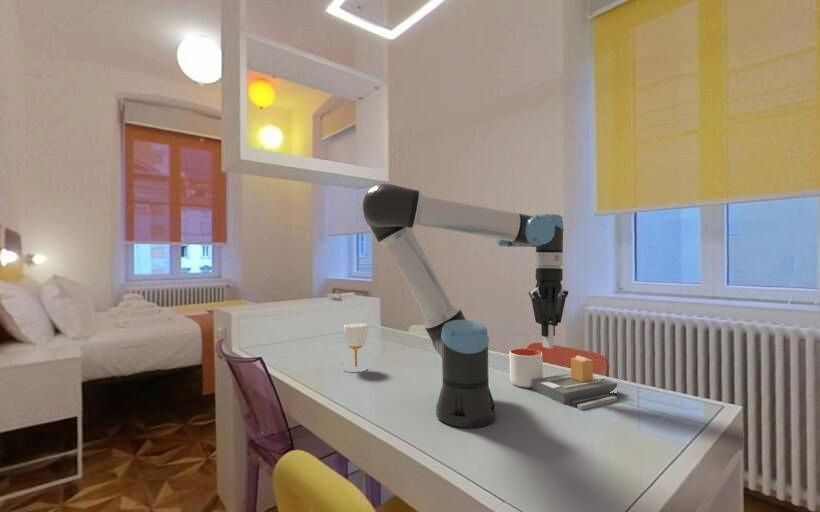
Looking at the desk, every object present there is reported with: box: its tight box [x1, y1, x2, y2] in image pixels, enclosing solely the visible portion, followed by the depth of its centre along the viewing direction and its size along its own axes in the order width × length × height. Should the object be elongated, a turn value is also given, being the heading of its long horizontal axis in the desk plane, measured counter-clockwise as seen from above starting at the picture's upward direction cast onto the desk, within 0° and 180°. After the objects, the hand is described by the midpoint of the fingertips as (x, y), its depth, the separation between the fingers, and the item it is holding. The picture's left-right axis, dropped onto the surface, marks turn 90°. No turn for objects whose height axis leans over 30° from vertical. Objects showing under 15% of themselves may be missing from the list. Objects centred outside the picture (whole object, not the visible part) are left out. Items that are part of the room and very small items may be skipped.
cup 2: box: [343, 322, 369, 367], centre depth 144 cm, size 9×9×16 cm
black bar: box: [570, 392, 619, 408], centre depth 109 cm, size 16×1×1 cm, turn 113°
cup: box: [508, 348, 544, 389], centre depth 125 cm, size 10×10×10 cm
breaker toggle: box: [570, 355, 594, 382], centre depth 119 cm, size 4×4×7 cm
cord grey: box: [576, 396, 618, 411], centre depth 107 cm, size 14×1×1 cm, turn 116°
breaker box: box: [531, 373, 618, 405], centre depth 117 cm, size 20×13×3 cm, turn 113°
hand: (547, 347), depth 117 cm, fingers closed
